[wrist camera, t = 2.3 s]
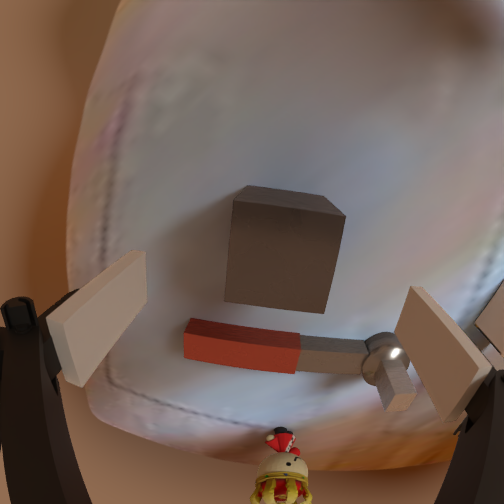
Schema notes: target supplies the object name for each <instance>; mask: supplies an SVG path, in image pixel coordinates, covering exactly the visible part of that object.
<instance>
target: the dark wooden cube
mask: <svg viewBox="0 0 504 504" xmlns="http://www.w3.org/2000/svg"><path fill="white" fill-rule="evenodd" d="M345 219H346V216H345V215H344V214H343V213H342V212H341V211H340V210H339V209H338V208H337V207H335V206H334V205H333V204H332V203H331V202H330V201H329V200H328V199H327V198H325V197H324V196H321V195H314V194H308V193H301V192H295V191H288V190H280V189H273V188H265V187H257V186H249V185H247V186H246V187H245V188H244V190H243V191H242V192H241V193H240V194H239V195H238V196H237V197H236V198H235V199H234V201H233V211H232V221H231V232H230V242H229V253H228V265H227V276H226V288H225V300H224V301H225V302H232V303H239V304H246V305H253V306H261V307H268V308H276V309H284V310H292V311H301V312H310V313H319V314H324V312H325V308H326V304H327V300H328V296H329V292H330V288H331V284H332V280H333V275H334V271H335V267H336V262H337V258H338V253H339V249H340V244H341V239H342V234H343V229H344V224H345Z"/></svg>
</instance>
